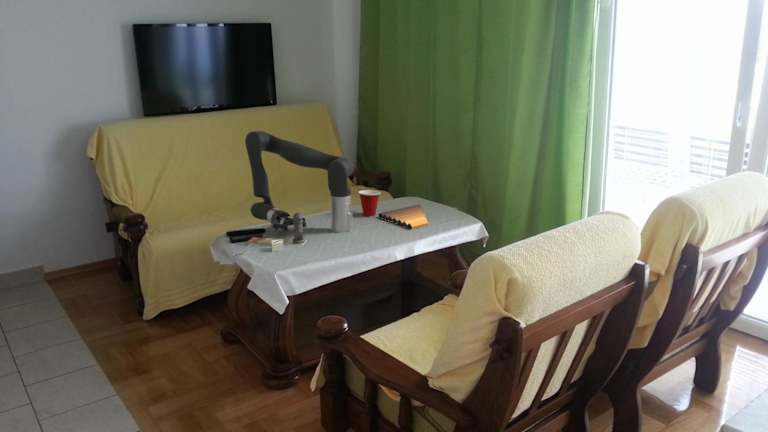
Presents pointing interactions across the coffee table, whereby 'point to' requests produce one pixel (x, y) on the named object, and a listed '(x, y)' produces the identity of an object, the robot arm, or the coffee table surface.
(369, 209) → the plastic cup
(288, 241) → the board
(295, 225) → the pawn
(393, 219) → the pan flute
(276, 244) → the die
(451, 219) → the coffee table surface
